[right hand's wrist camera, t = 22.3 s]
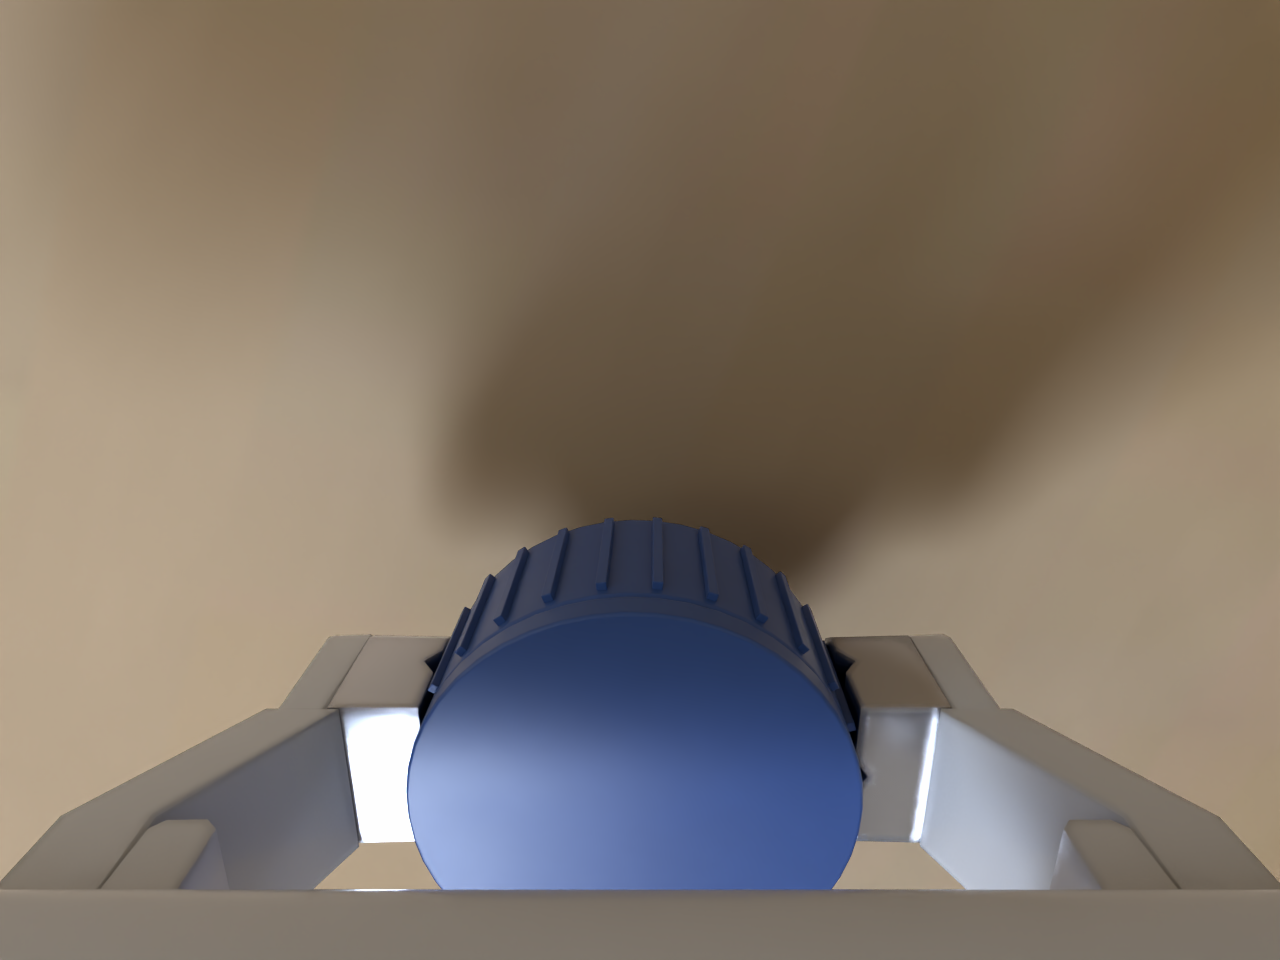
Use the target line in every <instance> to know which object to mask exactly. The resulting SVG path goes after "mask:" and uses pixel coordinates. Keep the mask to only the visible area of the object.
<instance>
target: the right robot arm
mask: <svg viewBox="0 0 1280 960" xmlns="http://www.w3.org/2000/svg"><path fill="white" fill-rule="evenodd" d="M450 638H451V637H446V636H394V635H375V636H372V635H371V634H368V635H335V636H331V637H329V638H328V639H327V640H326V641H325V643H324V644H323V646H322V647H321V649H320V650H319V651H318V653H317V654H316V656H315V657H314V659H313V660H312V661H311V663H310V664H309V666H308V667H307V669H306V670H305V672H304V673H303V674H302V676H301V677H300V679H299V680H298V682H297V683H296V684H295V686H294V687H293V689H292V690H291V692H290V693H289V695H288V696H287V697H286V699H285V700H284V702H283V703H282V705H281V706H280V707H279V709H265V710H263V711H261V712H259V713H257V714H255V715H253V716H251V717H250V718H248V719H246V720H244V721H242V722H240V723H238V724H236V725H234V726H232V727H230V728H228V729H227V730H225V731H223V732H221V733H219V734H217V735H215V736H213V737H211V738H209V739H207V740H205V741H204V742H202V743H200V744H198V745H196V746H194V747H192V748H190V749H188V750H186V751H184V752H182V753H181V754H179V755H177V756H175V757H173V758H171V759H169V760H167V761H165V762H163V763H161V764H160V765H158V766H156V767H154V768H152V769H150V770H148V771H146V772H144V773H142V774H140V775H138V776H137V777H135V778H133V779H131V780H129V781H127V782H125V783H123V784H121V785H119V786H117V787H115V788H114V789H112V790H110V791H108V792H106V793H104V794H102V795H100V796H98V797H96V798H94V799H92V800H91V801H89V802H87V803H85V804H83V805H81V806H79V807H77V808H75V809H73V810H71V811H70V812H68V813H66V814H64V815H62V816H60V817H59V818H58V820H57V821H56V822H55V823H54V824H53V825H52V826H51V827H50V828H49V829H48V830H47V831H46V833H45V834H44V835H43V836H42V837H41V838H40V839H39V840H38V841H37V842H36V843H35V844H34V846H33V847H32V848H31V849H30V850H29V851H28V852H27V853H26V854H25V855H24V856H23V857H22V859H21V860H20V861H19V862H18V863H17V864H16V865H15V866H14V867H13V868H12V869H11V871H10V872H9V873H8V874H7V875H6V876H5V877H4V878H3V879H2V880H1V881H0V960H1280V883H1279V882H1278V881H1277V879H1276V878H1275V877H1274V876H1273V875H1272V874H1271V873H1270V872H1269V871H1268V870H1267V868H1266V867H1265V866H1264V865H1263V864H1262V863H1261V862H1260V861H1259V860H1258V859H1257V858H1256V856H1255V855H1254V854H1253V853H1252V852H1251V851H1250V850H1249V849H1248V848H1247V847H1246V846H1245V844H1244V843H1243V842H1242V841H1241V840H1240V839H1239V838H1238V837H1237V836H1236V835H1235V833H1234V832H1233V831H1232V830H1231V829H1230V828H1229V827H1228V826H1227V825H1226V824H1225V823H1224V821H1223V820H1222V819H1221V818H1220V817H1218V816H1216V815H1214V814H1212V813H1211V812H1209V811H1207V810H1205V809H1203V808H1201V807H1199V806H1197V805H1195V804H1193V803H1191V802H1190V801H1188V800H1186V799H1184V798H1182V797H1180V796H1178V795H1176V794H1174V793H1172V792H1170V791H1169V790H1167V789H1165V788H1163V787H1161V786H1159V785H1157V784H1155V783H1153V782H1151V781H1150V780H1148V779H1146V778H1144V777H1142V776H1140V775H1138V774H1136V773H1134V772H1132V771H1130V770H1129V769H1127V768H1125V767H1123V766H1121V765H1119V764H1117V763H1115V762H1113V761H1111V760H1109V759H1108V758H1106V757H1104V756H1102V755H1100V754H1098V753H1096V752H1094V751H1092V750H1090V749H1089V748H1087V747H1085V746H1083V745H1081V744H1079V743H1077V742H1075V741H1073V740H1071V739H1069V738H1068V737H1066V736H1064V735H1062V734H1060V733H1058V732H1056V731H1054V730H1052V729H1050V728H1048V727H1047V726H1045V725H1043V724H1041V723H1039V722H1037V721H1035V720H1033V719H1031V718H1029V717H1028V716H1026V715H1024V714H1022V713H1020V712H1018V711H1016V710H1014V709H1000V708H999V706H998V705H997V703H996V702H995V700H994V699H993V698H992V696H991V695H990V693H989V692H988V690H987V689H986V688H985V686H984V685H983V683H982V682H981V680H980V679H979V678H978V676H977V675H976V673H975V672H974V670H973V669H972V668H971V666H970V665H969V663H968V662H967V660H966V659H965V658H964V656H963V655H962V653H961V652H960V651H959V649H958V648H957V646H956V645H955V643H954V642H953V641H952V639H951V638H950V637H948V636H946V635H944V634H936V635H912V636H867V637H830V638H825V644H826V646H827V649H828V652H829V655H830V657H831V660H832V663H833V665H834V668H835V671H836V674H837V676H838V679H839V682H840V685H841V687H842V690H843V693H844V696H845V698H846V701H847V704H848V707H849V709H850V712H851V715H852V717H853V720H854V723H855V727H856V730H855V731H851V732H849V733H850V736H851V739H852V742H853V744H854V747H855V750H856V753H857V756H858V759H859V764H860V767H861V768H860V770H861V776H862V782H863V810H862V817H861V823H860V829H859V834H858V837H857V840H856V841H881V842H917V843H920V846H921V847H922V848H923V849H924V850H925V851H926V852H927V853H928V854H929V855H930V856H931V857H932V858H933V859H934V860H936V861H937V862H938V863H939V864H940V865H941V866H942V867H943V868H944V869H945V870H946V871H947V872H948V873H949V874H951V875H952V876H953V877H954V878H955V879H956V880H957V881H958V882H959V883H960V884H961V885H962V886H963V887H964V888H966V889H967V890H374V889H314V888H315V887H316V886H317V885H318V884H319V883H320V882H321V881H322V880H323V879H325V878H326V877H327V876H328V875H329V874H330V873H331V872H332V871H333V870H334V869H335V868H336V867H337V866H339V865H340V864H341V863H342V862H343V861H344V860H345V859H346V858H347V857H348V856H349V855H350V854H351V853H353V852H354V851H355V850H356V849H357V848H358V847H359V843H362V842H397V841H414V837H413V833H412V829H411V825H410V822H409V818H408V810H407V799H406V781H407V768H408V763H409V759H410V755H411V751H412V747H413V743H414V741H415V738H416V736H417V733H418V731H419V729H420V726H421V724H422V722H423V719H424V717H425V715H426V712H427V710H428V708H429V705H430V703H431V700H432V698H433V696H434V693H432V692H429V691H428V688H429V686H430V683H431V681H432V679H433V677H434V674H435V672H436V670H437V668H438V665H439V663H440V661H441V659H442V656H443V654H444V652H445V649H446V647H447V645H448V643H449V640H450Z"/></svg>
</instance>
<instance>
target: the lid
mask: <svg viewBox="0 0 1280 960" xmlns="http://www.w3.org/2000/svg"><path fill="white" fill-rule="evenodd" d="M428 691H429V692H432V693H434V696H433V698H432V700H431V703H430V705H429V708H428V710H427V712H426V715H425V717H424V719H423V722H422V724H421V726H420V729H419V731H418V733H417V736H416V738H415V741H414V743H413V747H412V751H411V755H410V759H409V763H408V768H407V781H406V799H407V810H408V818H409V822H410V825H411V829H412V833H413V837H414V841H415V843H416V845H417V848H418V850H419V852H420V855H421V857H422V859H423V862H424V863H425V865H426V867H427V868H428V870H429V871H430V873H431V875H432V876H433V878H434V880H435V881H436V883H437V884H438V885H439V886H440V888H441V889H442V890H831V889H832V888H833V886H834V885H835V884H836V882H837V881H838V879H839V878H840V876H841V874H842V873H843V871H844V869H845V867H846V865H847V863H848V861H849V859H850V857H851V855H852V852H853V849H854V846H855V843H856V840H857V837H858V834H859V829H860V823H861V817H862V810H863V782H862V776H861V770H860V768H861V767H860V764H859V759H858V756H857V753H856V750H855V747H854V744H853V742H852V739H851V736H850V733H849V732H851V731H855V730H856V727H855V723H854V720H853V717H852V715H851V712H850V709H849V707H848V704H847V701H846V698H845V696H844V693H843V690H842V687H841V685H840V682H839V679H838V676H837V674H836V671H835V668H834V665H833V663H832V660H831V657H830V655H829V652H828V649H827V646H826V644H825V641H822V639H821V636H820V633H819V630H818V627H817V625H816V622H815V619H814V616H813V614H812V611H811V609H810V607H809V605H808V604H806V605H804V606H802V605H801V604H800V602H799V601H798V600H797V598H796V597H795V595H794V594H793V593H792V591H791V590H790V588H789V585H788V582H787V579H786V576H785V575H784V574H783V573H782V572H778V573H777V574H775V573H774V572H773V571H772V570H771V569H770V568H769V567H768V566H766V565H765V564H764V563H762V562H761V561H760V560H759V559H757V558H756V557H755V556H753V555H752V551H751V548H749V547H747V546H746V545H743V546H742V548H740V547H738V546H737V545H735V544H733V543H732V542H729V541H727V540H725V539H722V538H720V537H718V536H715V535H713V534H711V533H709V529H708V528H705V527H702V526H701V527H700V529H699V530H698V529H695V528H691V527H688V526H684V525H679V524H673V523H667V522H662V518H656V517H653V521H645V520H625V521H614V518H607V519H605V521H604V523H599V524H594V525H589V526H584V527H580V528H577V529H574V530H571V531H568V529H567V528H564V529H561V530H559V531H558V535H556V536H554V537H552V538H550V539H548V540H546V541H544V542H542V543H540V544H538V545H536V546H534V547H532V548H531V549H529V550H527V549H526V548H525V547H523V548H522V549H520V550H519V551H518V553H517V555H516V558H515V559H514V560H513V561H512V562H510V563H509V564H508V565H507V566H506V567H505V568H504V569H503V570H501V571H500V572H499V573H498V574H497V575H496V576H495V577H494V576H492V575H491V574H489V576H488V577H487V578H486V579H485V581H484V583H483V585H482V588H481V590H480V593H479V595H478V597H477V600H476V602H475V603H474V605H473V606H472V608H471V609H469V608H467V607H464V609H463V611H462V613H461V615H460V618H459V620H458V622H457V624H456V627H455V629H454V631H453V634H452V636H451V638H450V640H449V643H448V645H447V647H446V649H445V652H444V654H443V656H442V659H441V661H440V663H439V665H438V668H437V670H436V672H435V674H434V677H433V679H432V681H431V683H430V686H429V688H428Z"/></svg>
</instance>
